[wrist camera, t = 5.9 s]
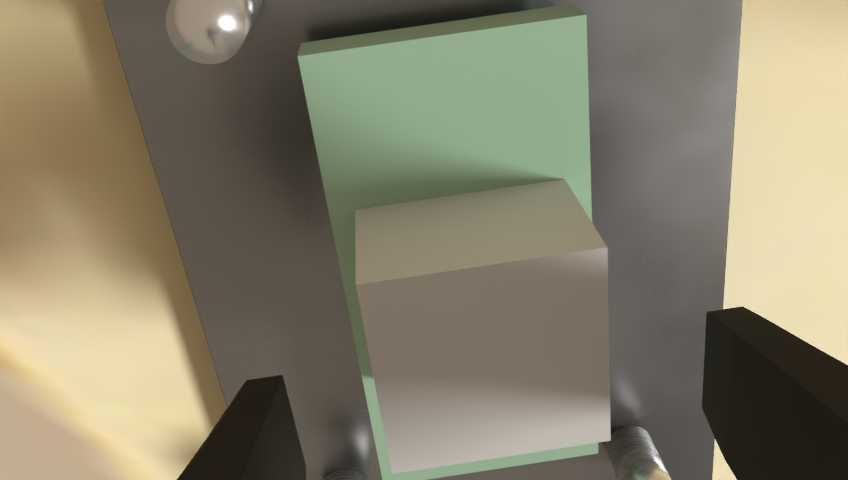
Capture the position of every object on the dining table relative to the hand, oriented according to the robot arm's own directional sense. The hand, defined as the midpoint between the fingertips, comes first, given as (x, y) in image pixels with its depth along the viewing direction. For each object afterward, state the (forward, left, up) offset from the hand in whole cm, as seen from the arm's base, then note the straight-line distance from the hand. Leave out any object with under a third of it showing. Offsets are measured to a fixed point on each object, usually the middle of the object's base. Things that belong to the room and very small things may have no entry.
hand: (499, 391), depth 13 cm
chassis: (0, 0, -6) cm, 6 cm away
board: (0, 0, -4) cm, 4 cm away
